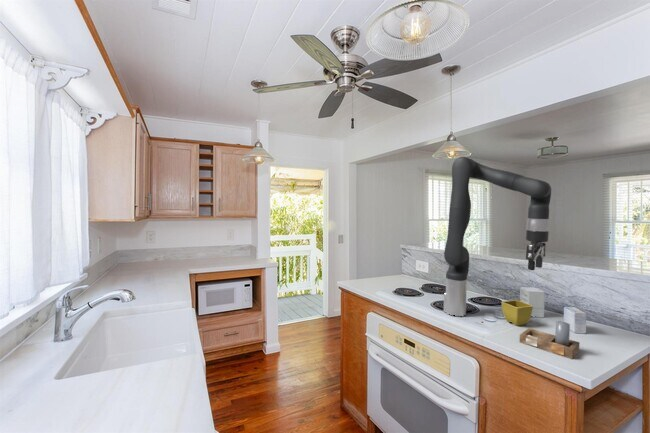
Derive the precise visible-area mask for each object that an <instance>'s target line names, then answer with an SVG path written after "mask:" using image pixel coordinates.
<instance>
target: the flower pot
mask: <svg viewBox="0 0 650 433" xmlns="http://www.w3.org/2000/svg"><path fill="white" fill-rule="evenodd" d="M500 303H501V310H502V314H503V316H504V319H505V320H506V321H507V322H508V321H509V322H508V323H510V322H512V323H513V324H512V323H511V324H512V325H514V324H515V325H514V326H517V327H518V326H523V325H527V324H528V323H529V321H530V320H531V318H532V317H531V314H532V309H533V306H532V305H529V304H526V303H523V302H520V300H517V299H514V300H506V301H501V302H500Z"/></svg>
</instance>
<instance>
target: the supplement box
mask: <svg viewBox="0 0 650 433" xmlns="http://www.w3.org/2000/svg"><path fill="white" fill-rule="evenodd" d="M545 294H546V292H545V291H544V290H542V289H540V288H537V287H535V286H534V287H533V286H532V287H530V286H529V287H528V286H527V287H524V286H521V287H520V294H519V295H520V296H519V297H520V298H519V299H520V300H519V301H520V302H523V303H526V304H529V305H532V306H533V309H532V314H531V316H537V317H536V318H545Z"/></svg>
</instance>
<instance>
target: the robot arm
mask: <svg viewBox="0 0 650 433" xmlns="http://www.w3.org/2000/svg"><path fill="white" fill-rule="evenodd" d="M470 179H476V180H482V181H483V182H484V181H486V182H488V183H490V184H493V185H496V186H498V187H500V188H503V189H507V190H511V191H513V192H517V193H521V194H523V195H527V196H529V197H530V202H529V203H530V204H529V206H528V210H527V221H526V230H525V231H526V232H525V241H528V242H530V243H529V244H526V254H525V260H527V261H528V263H527V269H528V270H529V271H535V270H536V268H539V269H540V268H543V259H544V258H545V256H546V247H547V246H546V243H547V242H549V233H550V221H549V219H550V203H551V196H552V186H551V185H550V183H548V182H547V181H544V180H540V179H537V178H532V177H527V176H524V175H522V174H519V173H515V172H512V171H509V170H508V171H506V170H503V169H496V168H493V167H490V166H487V165H484V164H481V163H480V162H477V161H475V160H473V159H472V158H470V157H467V156H459V157H457V158H456V159H455V160H454V161H453V163H452V165H451V182H452V183H451V195H450V202H449V212H448V225H447V235H446V236H447V238H446V243H445V248H444V253H443V255H444V260H445V262H446V263H447V265H449V266H448V269H447V271H446V273H445V274H446V276H445V292H444V293H443V313H445V312H446V313H445V314H447V315H449V314H450V315H449V316H451V315H455V316H454V317H457V316H462V317H464V316H463V315H465V316H466V315H467V292H468V291H467V287H468V284H467V281H468V275H469V271H470V270H469V269H470V267H469V266H470V253H469V251H468V248H467V247H466V246H464V236H465V234H466V231H467V228H468V226H469V224H470V220H471V212H472V202H471V194H470V188H469V187H470V186H469V185H470V184H469V183H470Z"/></svg>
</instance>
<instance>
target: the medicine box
mask: <svg viewBox="0 0 650 433" xmlns="http://www.w3.org/2000/svg"><path fill="white" fill-rule="evenodd" d="M563 322H566V323H568V324H570V331H571V332H573V333H574V334H584V335H586V333H587V313H586V312H584V311H582V310H581V309H578V308H577V307H574V306H564V307H563Z"/></svg>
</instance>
